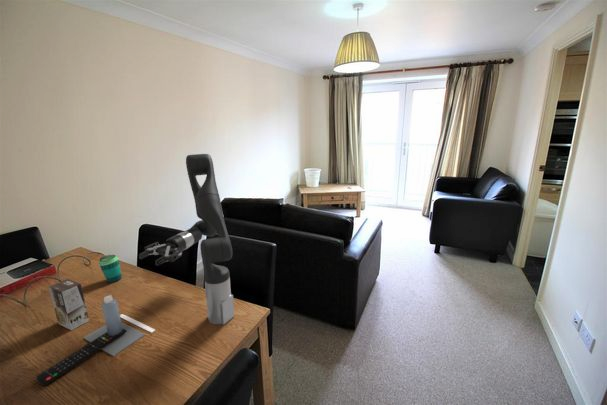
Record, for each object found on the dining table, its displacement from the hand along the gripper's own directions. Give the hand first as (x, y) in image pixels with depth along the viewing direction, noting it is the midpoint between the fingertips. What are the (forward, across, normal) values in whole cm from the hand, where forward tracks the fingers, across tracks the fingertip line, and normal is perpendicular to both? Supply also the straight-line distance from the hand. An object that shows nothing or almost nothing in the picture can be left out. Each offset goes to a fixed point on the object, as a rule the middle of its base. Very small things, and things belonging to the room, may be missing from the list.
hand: (147, 260), depth 106 cm
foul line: (+8, +1, +23) cm, 25 cm away
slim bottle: (+16, 0, +21) cm, 26 cm away
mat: (+16, 0, +23) cm, 28 cm away
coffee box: (+17, -22, +26) cm, 38 cm away
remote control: (+26, 0, +22) cm, 34 cm away
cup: (-9, -39, +29) cm, 49 cm away
